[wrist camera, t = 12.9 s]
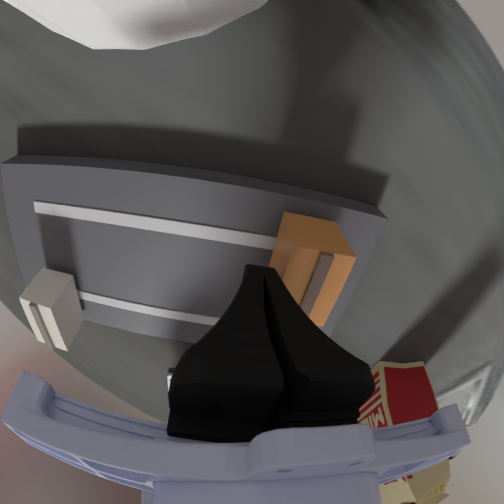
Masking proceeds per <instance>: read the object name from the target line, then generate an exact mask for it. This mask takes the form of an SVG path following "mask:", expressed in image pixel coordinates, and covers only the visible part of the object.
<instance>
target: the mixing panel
mask: <svg viewBox="0 0 504 504" xmlns="http://www.w3.org/2000/svg"><path fill="white" fill-rule="evenodd" d="M0 165H1V176H2V184H3V192H4V199H5V205H6V211H7V216H8V221H9V226H10V230H11V235H12V239H13V243H14V247H15V251H16V255H17V258H18V262H19V265H20V268H21V272H22V275H23V278H24V281H25V284H26V287H27V286H28V285H29V284H30V282H31V281H32V280H33V279H34V277H35V276H36V275H37V274H38V272H39V271H40V270H41V269H42V268H46V269H50V270H54V271H58V272H62V273H66V274H70V275H73V277H74V282H75V286H76V290H77V294H78V298H79V302H80V306H81V309H82V313H83V316H84V320H87V321H91V322H95V323H98V324H102V325H106V326H110V327H114V328H118V329H123V330H127V331H131V332H136V333H141V334H145V335H150V336H155V337H160V338H165V339H171V340H176V341H182V342H188V343H194V344H195V343H196V342H198V341H199V340H200V339H201V338H202V337H203V336H204V335H205V334H206V333H207V332H208V331H209V330H210V329H211V328H212V327H213V326H214V325H215V324H216V323H217V321H218V320H219V319H220V318H221V317H222V315H223V314H224V313H225V311H226V310H227V308H228V307H229V305H230V304H231V302H232V300H233V299H234V297H235V295H236V293H237V291H238V289H239V287H240V285H241V281H242V277H243V272H244V268H245V265H247V264H252V265H259V266H265V267H269V263H270V260H271V256H272V253H273V249H274V246H275V242H276V238H277V235H278V231H279V228H280V224H281V220H282V217H283V213H284V212H289V213H294V214H300V215H305V216H309V217H314V218H319V219H324V220H329V221H333V222H336V223H337V224H338V226H339V228H340V229H341V231H342V233H343V234H344V236H345V238H346V240H347V241H348V243H349V245H350V247H351V248H352V250H353V252H354V254H355V255H356V257H357V258H356V260H355V262H354V264H353V267H352V269H351V271H350V273H349V275H348V277H347V279H346V282H345V284H344V286H343V288H342V290H341V292H340V294H339V296H338V298H337V300H336V302H335V304H334V306H333V308H332V310H331V312H330V314H329V316H328V318H327V320H326V322H325V324H324V326H323V327H321V326H317V327H318V328H319V329H320V330H321V331H323V332H324V333H325V334H326V335H327V336H328V337H330V335H331V334H332V332H333V330H334V328H335V326H336V325H337V323H338V321H339V319H340V318H341V316H342V314H343V312H344V310H345V308H346V306H347V305H348V303H349V301H350V299H351V297H352V295H353V293H354V291H355V289H356V287H357V285H358V283H359V281H360V279H361V277H362V275H363V273H364V271H365V269H366V267H367V265H368V263H369V261H370V258H371V256H372V254H373V252H374V250H375V247H376V245H377V243H378V241H379V238H380V236H381V234H382V232H383V229H384V227H385V225H386V222H387V220H388V219H387V217H386V216H385V215H384V214H383V213H382V212H381V211H380V210H379V209H378V208H377V207H376V206H375V205H372V204H368V203H364V202H361V201H357V200H353V199H349V198H345V197H341V196H337V195H333V194H329V193H325V192H320V191H316V190H312V189H307V188H303V187H298V186H294V185H289V184H284V183H279V182H274V181H269V180H264V179H259V178H254V177H248V176H243V175H237V174H231V173H225V172H219V171H212V170H206V169H199V168H192V167H185V166H177V165H169V164H161V163H152V162H143V161H133V160H122V159H110V158H96V157H78V156H51V155H17V156H15V157H13V158H11V159H9V160H7V161H5V162H3V163H1V164H0Z"/></svg>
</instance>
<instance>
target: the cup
mask: <svg viewBox="0 0 504 504" xmlns="http://www.w3.org/2000/svg"><path fill="white" fill-rule="evenodd" d="M4 1H6V2H7V3H9V4H11V5H12V6H14V7H16V8H17V9H19V10H21V11H22V12H24V13H25V14H27V15H29V16H30V17H32V18H33V19H35V20H36V21H38V22H40V23H41V24H43V25H44V26H46V27H47V28H49V29H50V30H52V31H54V32H56V33H58V34H61V35H63V36H65V37H68V38H70V39H72V40H74V41H77V42H79V43H81V44H83V45H85V46H87V47H90V48H92V49H139V50H145V49H150V48H153V47H157V46H160V45H164V44H167V43H171V42H175V41H179V40H183V39H188V38H192V37H197V36H202V35H207V34H208V33H210V32H212V31H214V30H216V29H218V28H219V27H221V26H223V25H225V24H227V23H229V22H231V21H233V20H235V19H237V18H239V17H242V16H244V15H246V14H248V13H250V12H253V11H255V10H257V9H259V8H261V7H262V6H263V5H264V4H265V3H266V2H267V1H268V0H4Z"/></svg>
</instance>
